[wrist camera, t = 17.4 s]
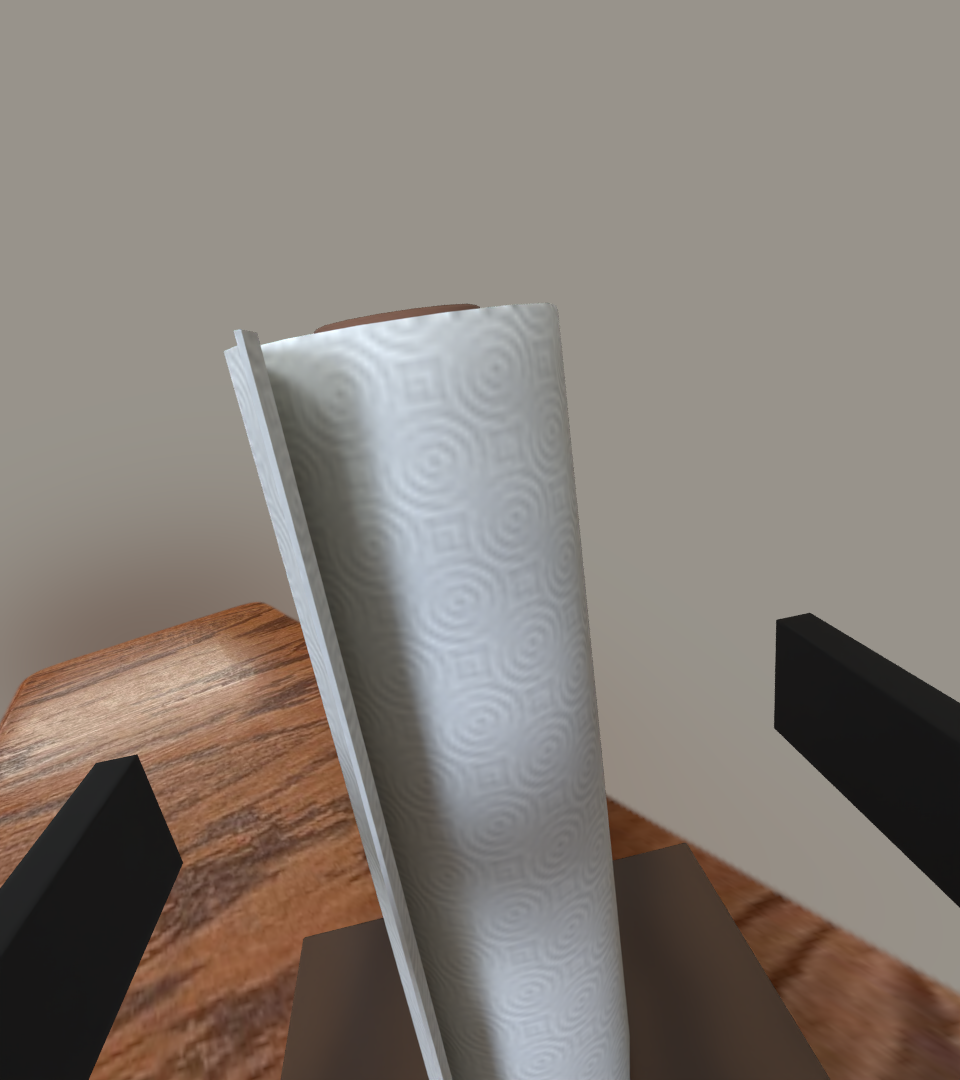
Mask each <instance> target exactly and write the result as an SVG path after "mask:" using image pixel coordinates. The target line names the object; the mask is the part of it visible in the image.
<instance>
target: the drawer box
mask: <svg viewBox="0 0 960 1080" xmlns="http://www.w3.org/2000/svg"><path fill="white" fill-rule="evenodd" d="M612 862H613V872H614V882H615V892H616V903H617V913H618V923H619V933H620V943H621V953H622V963H623V973H624V984H625V994H626V1004H627V1014H628V1024H629V1034H630V1080H830V1078H829V1077H828V1075H827V1073H826V1072H825V1070H824V1069H823V1067H822V1065H821V1064H820V1062H819V1060H818V1059H817V1057H816V1055H815V1054H814V1052H813V1050H812V1049H811V1047H810V1046H809V1044H808V1042H807V1041H806V1039H805V1037H804V1036H803V1034H802V1032H801V1031H800V1029H799V1027H798V1026H797V1024H796V1022H795V1021H794V1019H793V1018H792V1016H791V1014H790V1013H789V1011H788V1009H787V1008H786V1006H785V1004H784V1003H783V1001H782V999H781V998H780V996H779V995H778V993H777V991H776V990H775V988H774V986H773V985H772V983H771V981H770V980H769V978H768V976H767V975H766V973H765V972H764V970H763V968H762V967H761V965H760V963H759V962H758V960H757V958H756V957H755V955H754V953H753V952H752V950H751V948H750V947H749V945H748V944H747V942H746V940H745V939H744V937H743V935H742V934H741V932H740V930H739V929H738V927H737V925H736V924H735V922H734V921H733V919H732V917H731V916H730V914H729V912H728V911H727V909H726V907H725V906H724V904H723V902H722V901H721V899H720V898H719V896H718V894H717V893H716V891H715V889H714V888H713V886H712V884H711V883H710V881H709V879H708V878H707V876H706V874H705V873H704V871H703V870H702V868H701V866H700V865H699V863H698V861H697V860H696V858H695V856H694V855H693V853H692V851H691V850H690V848H689V847H688V845H687V844H686V843H682V844H678V845H674V846H670V847H666V848H662V849H658V850H654V851H650V852H646V853H642V854H638V855H634V856H630V857H626V858H622V859H618V860H614V861H612ZM281 1080H429V1077H428V1074H427V1070H426V1066H425V1063H424V1059H423V1056H422V1052H421V1049H420V1045H419V1042H418V1038H417V1035H416V1031H415V1027H414V1024H413V1020H412V1017H411V1013H410V1010H409V1006H408V1003H407V999H406V996H405V992H404V989H403V985H402V981H401V978H400V974H399V971H398V967H397V964H396V960H395V957H394V953H393V950H392V946H391V942H390V939H389V935H388V932H387V928H386V925H385V921H384V918H381V919H377V920H373V921H369V922H365V923H361V924H357V925H353V926H349V927H345V928H341V929H337V930H333V931H329V932H325V933H321V934H317V935H313V936H309V937H305V938H304V939H303V945H302V951H301V957H300V963H299V970H298V976H297V982H296V988H295V994H294V1000H293V1007H292V1013H291V1019H290V1025H289V1031H288V1037H287V1044H286V1050H285V1056H284V1062H283V1068H282V1074H281Z"/></svg>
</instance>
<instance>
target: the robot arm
mask: <svg viewBox="0 0 960 1080" xmlns="http://www.w3.org/2000/svg"><path fill="white" fill-rule="evenodd" d="M775 664H776V665H775V711H774V712H775V713H774V728H775V729H776V730H777V731H778V732H779V733H780V734H781V735H782V736H783V737H784V738H785V739H786V740H787V741H788V742H789V743H790V744H791V745H792V746H793V747H794V748H795V749H796V750H797V751H798V752H799V753H801V754H802V755H803V756H804V757H805V758H806V759H807V760H808V761H809V762H810V763H811V764H812V765H813V766H814V767H815V768H816V769H817V770H818V771H819V772H820V773H821V774H822V775H823V776H824V777H825V778H826V779H827V780H828V781H829V782H831V784H833V785H834V786H835V787H836V788H837V789H838V790H839V791H840V792H841V793H842V794H843V795H844V796H845V797H846V798H847V799H848V800H849V801H850V802H851V803H852V804H853V805H854V806H855V807H856V808H857V809H858V810H859V811H860V812H862V813H863V814H864V815H865V816H866V817H867V818H868V819H869V820H870V821H871V822H872V823H873V824H874V825H875V826H876V827H877V828H878V829H879V830H880V831H881V832H882V833H883V834H884V835H885V836H886V837H887V838H888V839H889V840H890V841H891V842H892V843H893V844H895V845H896V846H897V847H898V848H899V849H900V850H901V851H902V852H903V853H904V854H905V855H906V856H907V857H908V858H909V859H910V860H911V861H912V862H913V863H914V864H915V865H916V866H917V867H918V868H919V869H921V871H923V873H925V874H926V875H927V876H928V877H929V878H930V879H931V880H932V881H933V882H934V883H935V884H936V885H937V886H938V887H939V888H940V889H941V890H942V891H943V892H944V893H945V894H946V895H947V896H948V897H949V898H950V899H951V900H952V901H954V903H956V904H957V905H958V906H959V907H960V703H959V702H957V701H956V700H954V699H952V698H951V697H949V696H947V695H946V694H944V693H942V692H941V691H939V690H937V689H936V688H934V687H932V686H931V685H929V684H927V683H925V682H924V681H922V680H921V679H919V678H917V677H916V676H914V675H912V674H911V673H909V672H907V671H906V670H904V669H902V668H901V667H899V666H897V665H896V664H894V663H892V662H891V661H889V660H887V659H886V658H884V657H883V656H881V655H879V654H878V653H876V652H874V651H872V650H871V649H869V648H868V647H866V646H864V645H863V644H861V643H859V642H858V641H856V640H854V639H853V638H851V637H849V636H848V635H846V634H844V633H843V632H841V631H839V630H838V629H836V628H834V627H833V626H831V625H829V624H828V623H826V622H824V621H823V620H821V619H819V618H818V617H816V616H814V615H813V614H811V613H807V614H802V615H798V616H793V617H788V618H783V619H778V620H776V663H775ZM182 864H183V861H182V859H181V857H180V854H179V852H178V850H177V847H176V845H175V843H174V840H173V838H172V835H171V833H170V831H169V828H168V826H167V824H166V821H165V819H164V816H163V814H162V812H161V809H160V807H159V805H158V802H157V800H156V798H155V795H154V793H153V790H152V788H151V786H150V783H149V781H148V779H147V776H146V774H145V771H144V769H143V767H142V764H141V762H140V760H139V757H138V755H132V756H127V757H123V758H118V759H113V760H108V761H104V762H99V763H96V764H95V765H94V766H93V768H92V769H91V770H90V772H89V773H88V774H87V775H86V777H85V778H84V779H83V781H82V782H81V783H80V785H79V786H78V787H77V789H76V790H75V791H74V793H73V794H72V795H71V796H70V798H69V799H68V800H67V802H66V803H65V804H64V806H63V807H62V808H61V810H60V811H59V812H58V813H57V815H56V816H55V817H54V819H53V820H52V821H51V823H50V824H49V825H48V827H47V828H46V829H45V830H44V832H43V833H42V834H41V836H40V837H39V838H38V840H37V841H36V842H35V844H34V845H33V846H32V848H31V849H30V850H29V851H28V853H27V854H26V855H25V857H24V858H23V859H22V861H21V862H20V863H19V865H18V866H17V867H16V868H15V870H14V871H13V872H12V874H11V875H10V876H9V878H8V879H7V880H6V882H5V883H4V884H3V885H2V887H1V888H0V1080H89V1077H90V1075H91V1073H92V1071H93V1068H94V1066H95V1064H96V1061H97V1059H98V1057H99V1054H100V1052H101V1050H102V1048H103V1045H104V1043H105V1041H106V1038H107V1036H108V1034H109V1032H110V1029H111V1027H112V1025H113V1022H114V1020H115V1018H116V1015H117V1013H118V1011H119V1009H120V1006H121V1004H122V1002H123V999H124V997H125V995H126V992H127V990H128V988H129V986H130V983H131V981H132V979H133V976H134V974H135V972H136V970H137V967H138V965H139V963H140V960H141V958H142V956H143V953H144V951H145V949H146V947H147V944H148V942H149V940H150V937H151V935H152V933H153V931H154V928H155V926H156V924H157V921H158V919H159V917H160V914H161V912H162V910H163V908H164V905H165V903H166V901H167V898H168V896H169V894H170V891H171V889H172V887H173V885H174V882H175V880H176V878H177V875H178V873H179V871H180V869H181V866H182Z"/></svg>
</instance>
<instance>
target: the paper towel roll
mask: <svg viewBox="0 0 960 1080" xmlns="http://www.w3.org/2000/svg"><path fill="white" fill-rule="evenodd" d="M234 334H235V337H236V341H237V346H235V347H233V348H230V349H228V350H226V351H224V354H225V358H226V361H227V364H228V368H229V372H230V375H231V379H232V382H233V386H234V389H235V393H236V396H237V400H238V404H239V407H240V410H241V414H242V418H243V421H244V425H245V428H246V432H247V436H248V439H249V443H250V446H251V450H252V453H253V457H254V460H255V464H256V467H257V471H258V475H259V478H260V482H261V485H262V489H263V492H264V496H265V499H266V503H267V506H268V510H269V514H270V517H271V521H272V524H273V528H274V531H275V535H276V538H277V542H278V545H279V549H280V552H281V556H282V560H283V563H284V566H285V570H286V574H287V577H288V581H289V584H290V588H291V591H292V595H293V599H294V602H295V605H296V609H297V613H298V616H299V620H300V623H301V627H302V630H303V634H304V638H305V641H306V645H307V648H308V652H309V655H310V659H311V662H312V666H313V669H314V673H315V677H316V680H317V684H318V687H319V691H320V694H321V698H322V701H323V705H324V708H325V712H326V716H327V719H328V723H329V726H330V730H331V733H332V737H333V740H334V744H335V747H336V751H337V755H338V758H339V762H340V765H341V769H342V772H343V776H344V779H345V783H346V786H347V790H348V794H349V797H350V801H351V804H352V808H353V811H354V815H355V818H356V822H357V825H358V829H359V833H360V836H361V840H362V843H363V847H364V850H365V854H366V857H367V861H368V864H369V868H370V872H371V875H372V879H373V882H374V886H375V889H376V893H377V896H378V900H379V903H380V907H381V911H382V914H383V918H384V921H385V925H386V928H387V932H388V935H389V939H390V942H391V946H392V950H393V953H394V957H395V960H396V964H397V967H398V971H399V974H400V978H401V981H402V985H403V989H404V992H405V996H406V999H407V1003H408V1006H409V1010H410V1013H411V1017H412V1020H413V1024H414V1027H415V1031H416V1035H417V1038H418V1042H419V1045H420V1049H421V1052H422V1056H423V1059H424V1063H425V1066H426V1070H427V1074H428V1077H429V1080H630V1034H629V1024H628V1014H627V1004H626V994H625V984H624V973H623V963H622V953H621V943H620V933H619V923H618V913H617V903H616V892H615V882H614V872H613V862H612V852H611V842H610V832H609V822H608V811H607V801H606V791H605V782H604V771H603V761H602V751H601V742H600V732H599V722H598V721H599V720H598V710H597V700H596V691H595V680H594V670H593V660H592V650H591V639H590V630H589V620H588V609H587V599H586V589H585V579H584V569H583V558H582V549H581V539H580V530H579V518H578V509H577V498H576V488H575V479H574V478H575V477H574V468H573V457H572V448H571V438H570V429H569V418H568V408H567V397H566V386H565V376H564V366H563V356H562V346H561V336H560V326H559V316H558V309H557V307H556V306H555V305H552V304H550V303H537V304H519V305H518V304H517V305H505V306H496V307H488V308H480V307H479V306H477V305H472V304H455V305H441V306H432V307H423V308H414V309H408V310H401V311H394V312H388V313H381V314H375V315H370V316H365V317H359V318H354V319H349V320H345V321H341V322H336V323H333V324H329V325H325V326H323V327H321V328H318V329H317V330H316V331H315V332H314V334H310V335H305V336H300V337H294V338H289V339H284V340H280V341H276V342H272V343H268V344H264V345H260V342H259V338H258V334H257V333H256V332H251V331H246V330H241V329H240V330H234Z"/></svg>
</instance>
